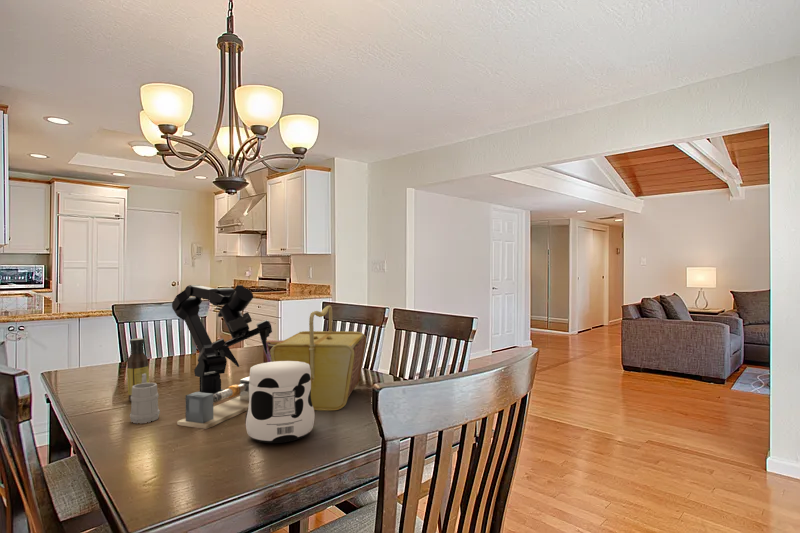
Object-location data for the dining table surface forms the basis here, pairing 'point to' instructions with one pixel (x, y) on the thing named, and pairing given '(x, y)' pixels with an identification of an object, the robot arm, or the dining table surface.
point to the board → (220, 413)
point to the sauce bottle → (136, 364)
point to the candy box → (269, 345)
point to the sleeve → (245, 394)
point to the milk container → (279, 402)
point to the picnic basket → (326, 361)
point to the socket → (199, 407)
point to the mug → (144, 402)
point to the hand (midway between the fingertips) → (252, 360)
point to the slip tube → (230, 391)
